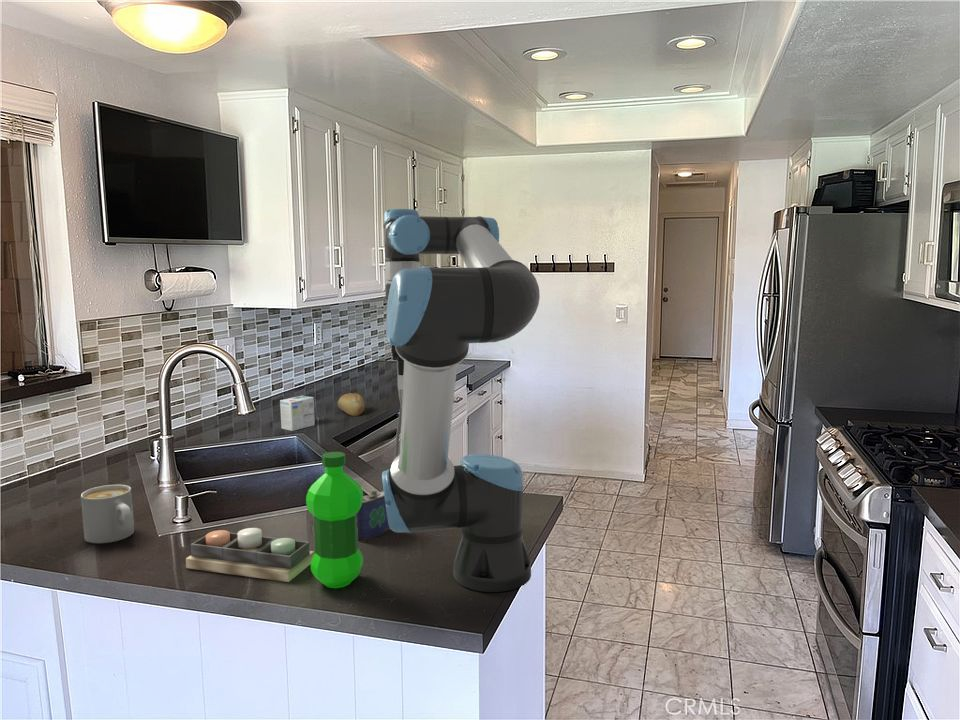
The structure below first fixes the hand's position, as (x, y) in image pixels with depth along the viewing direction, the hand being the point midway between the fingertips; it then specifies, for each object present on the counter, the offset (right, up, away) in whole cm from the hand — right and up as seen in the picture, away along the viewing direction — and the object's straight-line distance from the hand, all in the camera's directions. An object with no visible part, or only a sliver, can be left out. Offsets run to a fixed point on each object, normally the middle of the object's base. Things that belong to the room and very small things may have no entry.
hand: (404, 388), depth 156 cm
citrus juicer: (-1, -28, +33) cm, 43 cm away
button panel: (-30, -35, -14) cm, 48 cm away
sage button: (-22, -32, -16) cm, 42 cm away
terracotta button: (-37, -32, -12) cm, 50 cm away
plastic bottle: (-10, -36, -22) cm, 43 cm away
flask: (-7, -33, +1) cm, 34 cm away
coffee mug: (-65, -33, 0) cm, 73 cm away
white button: (-30, -31, -15) cm, 45 cm away
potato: (-35, -15, +125) cm, 131 cm away
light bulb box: (-50, -18, +102) cm, 115 cm away
